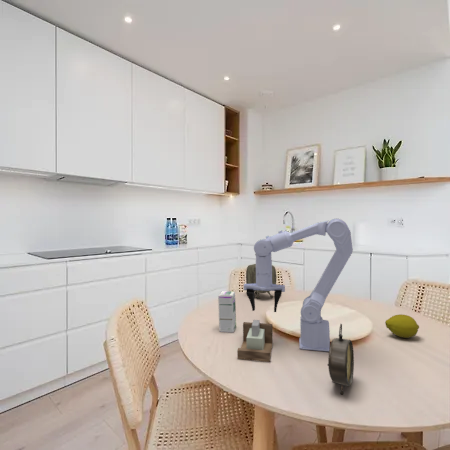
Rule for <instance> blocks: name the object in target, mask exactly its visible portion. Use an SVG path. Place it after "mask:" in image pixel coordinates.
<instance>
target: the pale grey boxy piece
mask: <svg viewBox="0 0 450 450" xmlns="http://www.w3.org/2000/svg"><path fill="white" fill-rule="evenodd" d="M251 323H252V328H250V329H249V332H248V335H247V338H246V340H247V349H255V350H263V349H264V345H265V329H260V323H261V320H260V319H252V322H251Z"/></svg>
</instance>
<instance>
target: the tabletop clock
mask: <svg viewBox="0 0 450 450" xmlns="http://www.w3.org/2000/svg"><path fill="white" fill-rule="evenodd" d="M254 255H255V256H256V253H255V254H254ZM254 283H256V263H253V264H249V265H247V267H246V272H245V284H254ZM272 284H277V270H276V266H275V265H273V264H272ZM260 293H261V294H265V293H267V294H268V295H269V298H270V299H274V296H273V295H272V294H271V291H262V290H255V295H256V299H260Z"/></svg>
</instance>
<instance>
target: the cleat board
mask: <svg viewBox="0 0 450 450" xmlns="http://www.w3.org/2000/svg"><path fill="white" fill-rule="evenodd" d="M252 323H253V322H249V321H243V323H242V333H243V334H242V337H243V340H242V344H241V345H240V347H238V348H237V360H242V361H243V360H245V361H254V362H263V363H264V362H266V363H271V357H272V350H273V344H274V343H273V340H274V339H273V337H274V336H273V323H263V322H262V323H261V322H260V329H265V345H264V349H263V350H255V349H247V340H246V338H247V335H248V332H249V329H250V328H252Z"/></svg>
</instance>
